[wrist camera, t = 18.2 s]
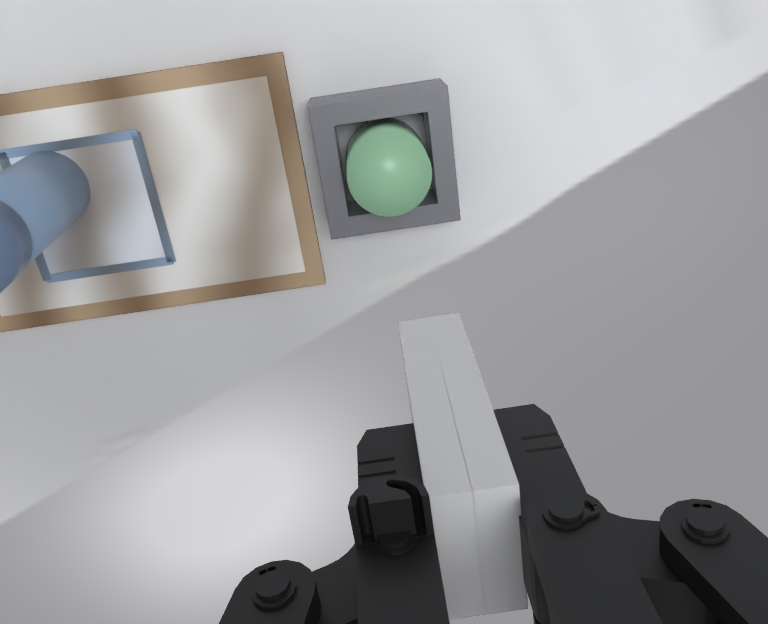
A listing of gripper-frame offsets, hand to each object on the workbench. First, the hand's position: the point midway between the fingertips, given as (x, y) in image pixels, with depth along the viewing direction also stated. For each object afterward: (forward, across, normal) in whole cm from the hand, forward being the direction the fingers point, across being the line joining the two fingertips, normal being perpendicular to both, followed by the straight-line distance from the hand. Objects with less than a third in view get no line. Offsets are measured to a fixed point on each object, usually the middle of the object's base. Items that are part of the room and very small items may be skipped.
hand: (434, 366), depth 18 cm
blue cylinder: (+24, -18, +1) cm, 30 cm away
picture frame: (+24, -14, 0) cm, 28 cm away
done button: (+23, 0, 0) cm, 23 cm away
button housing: (+24, 0, 0) cm, 24 cm away
